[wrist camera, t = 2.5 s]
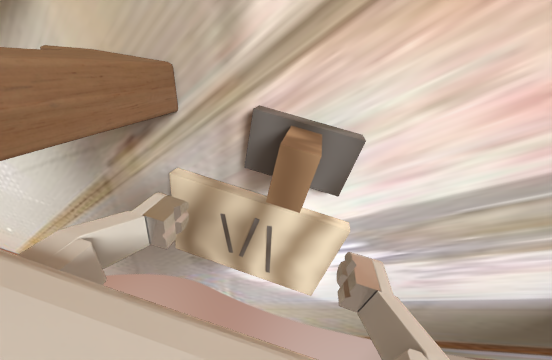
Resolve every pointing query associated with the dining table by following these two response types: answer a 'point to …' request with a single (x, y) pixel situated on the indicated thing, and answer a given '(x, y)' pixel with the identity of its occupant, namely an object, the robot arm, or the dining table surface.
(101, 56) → the wooden block
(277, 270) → the birch board
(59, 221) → the dining table surface
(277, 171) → the block
